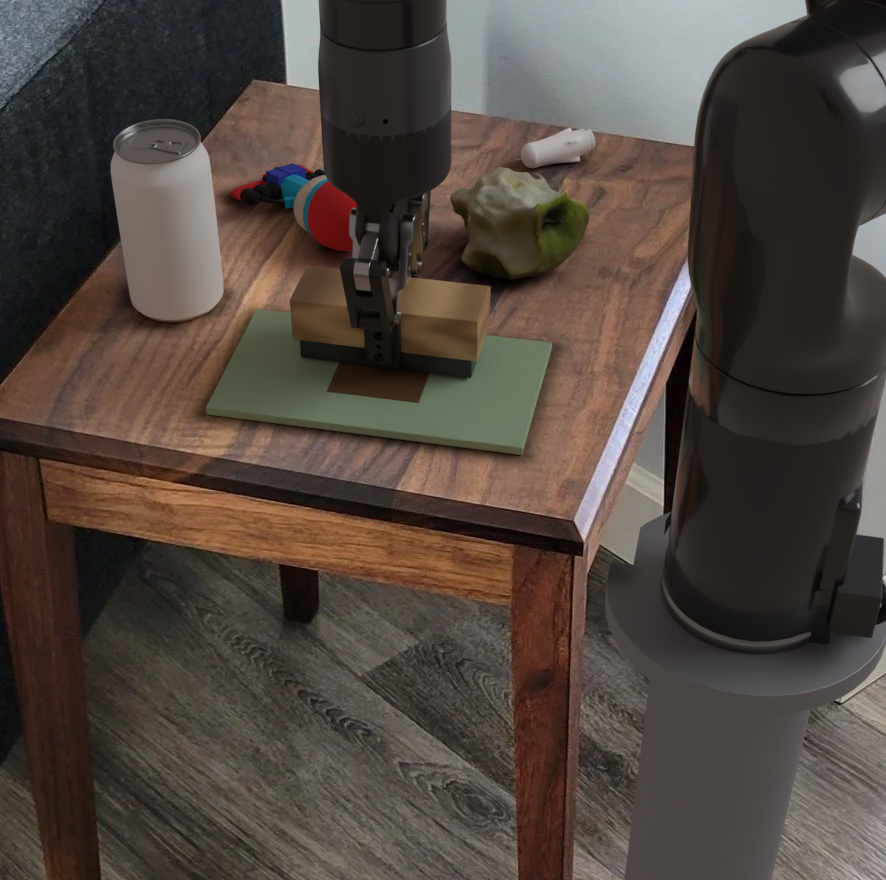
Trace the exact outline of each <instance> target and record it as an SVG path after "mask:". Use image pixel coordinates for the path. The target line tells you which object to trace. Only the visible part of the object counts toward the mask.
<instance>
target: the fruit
mask: <svg viewBox="0 0 886 880" xmlns="http://www.w3.org/2000/svg"><path fill="white" fill-rule="evenodd" d="M534 177H535V178H534ZM449 199H450V203H451V205H452V209H453V212H454V213H455V214H456V215H459V216H460V217H461V218H462V220H463V225H464V229H465V234H466V235H467V237H468V242H467V244H466V245H465V248H464V250H463V253H462V255H461V258H460V259H461V261H462V263H463V264H464V265H465V266H467V267H468V268H470V269H472V270H473V271H476V272H478V273H481V274H483V275H486V276H490V277H494V278H497V279H501V280H508V281H512V280H520V279H523V278H530V277H531V278H532V277H536V276H541V275H544V274H546V273H548V272H550V271H552V270H555V269H556V268H558V267H560V266H561V265H562V264H563V263H564V262H566V261H567V260H568V259H569V258H570V257H571V256H572V255H573V254H574V252H575V251H576V250H577V249H578V247H579V246H580V244H581V242H582V241H583V239H584V237H585V234H586V231H587V227H588V225H589V221H590V212H589V208H588V206H586V205H585V204H584V203H583V202H582V201H579V200H578V199H576V197H568V192H567V191H564V190H562V191H561V192H559V191H557V190H554V189H552V188H551V186H550V185H549V183H548V182H547V180H546V178H544V176H542V174H540V173H538V172H533V173H532V175H531V174H530V173H529V172H527V171H524V172H522V171H515V170H512V169H511V168H509V167H502V166H498V167H496V168H495V169H493V170H492V171H491V173H490V174H488V175H487V176H482V177H481V178H479V180H478V181H476V182H475V184H474V185H473V186H472V187H460V188H458V189H456V191H453V192H452V193H451V194H450V198H449Z"/></svg>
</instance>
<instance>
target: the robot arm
mask: <svg viewBox="0 0 886 880" xmlns="http://www.w3.org/2000/svg"><path fill="white" fill-rule="evenodd" d="M447 2H448V0H318V15H319V47H318V59H317V72H318V73H317V77H318V92H319V93H318V94H319V108H320V109H319V110H320V127H321V145H322V162H323V171H324V172H325V175H326V177H327V179H328V180H329V182H330V183H331V184H332V185H333V186H334V187H335V188H336V189H338V190H339V191H341V192H343V193H345V194H346V195H348V196H349V197H350V198H351V199H353V200H354V201H355V202H356V204H357V208H352V209H351V212H350V218H349V236H350V238H351V239H352V241H353V250H352V251H351V252H352V255H351V257H348V256H345V257H343V258H342V261H341V263H340V265H339V270H340V272H341V278H342V283H343V288H344V293H345V298H346V303H347V308H348V313H349V318H350V323H351V327H352V328H358V329H364V344H365V363H366V365H367V366H368V367H370V368H372V369H380V370H388V371H396V370H397V369H398V368H399V366H400V363H401V361H402V352H401V318H402V311H401V308H402V290H403V289H404V288H405V287H406V285H407V284H408V283H409V281H410V279H411V278H419V277H418V276H420V274H421V271H422V270H423V267H424V261H423V260H422V252H423V253H424V252H426V251H427V249H428V247H429V243H430V238H429V228H430V227H429V225H430V212H431V210H430V209H431V193H432V191H433V190H435V189H436V188H437V187H438V186H440V185H441V184H442V183H443V182H444V181H445V180H446V178H447V177H448V175H449V173H450V171H451V167H452V54H451V46H450V41H449V32H448V19H447V18H448V13H447V8H448V7H447V6H448V5H447V4H448V3H447ZM804 4H805V11H806V15H804V16H800V17H798V18H796V19H794V20H791V21H789V22H786V23H783V24H781V25H779V26H777V27H774V28H772V29H769V30H766V31H764V32H761V33H759V34H756V35H754V36H752V37H750V38H748V39H745V40H744V41H741V42H740V43H738V44H736V45H735V46H734V47H732V48H730V49H729V50H728V52H726V53H725V54H724V55H723V56H722V57H721V58H720V60H719V61H718V62H717V64H716V65H715V67H714V68H713V70H712V72H711V73H710V76H709V78H708V80H707V82H706V84H705V88H704V90H703V93H702V97H701V99H700V104H699V108H698V112H697V119H696V123H695V124H696V125H695V132H694V142H693V152H692V153H693V155H692V167H691V168H692V169H691V187H690V188H691V189H690V205H689V206H690V207H689V224H688V238H687V268H688V277H689V282H690V287H691V291H692V294H693V298H694V301H695V307H696V321H695V328H694V329H695V331H694V338H693V345H692V353H691V361H690V370H689V377H688V383H687V392H686V400H685V407H684V408H685V409H684V413H683V414H684V415H683V423H682V430H681V439H680V445H679V446H680V447H679V454H678V462H677V470H676V475H675V476H676V477H675V485H674V492H673V499H672V507H671V508H672V509H671V511H670V512H671V513H670V515H669V516H668V518H667V520H666V522H665V530H664V534H665V533H666V531H667V530H668V528H669V526H670V531H669V539H668V547H667V550H666V556H665V563H664V566H663V571H662V579H661V593H662V598H663V601H664V603H665V606H666V608H667V609H668V611H669V613H670V614H671V615H672V617H673V618H674V619H675V620H676V621H677V622H678V623H679V624H680V625H681V626H682V627H683V628H684V629H685V630H687V631H688V632H689V633H691V634H692V635H694V636H695V637H697V638H699V639H701V640H703V641H705V642H707V643H709V644H712V645H714V646H717V647H720V648H723V649H727V650H730V651H735V652H741V653H750V654H769V653H778V652H784V651H788V650H792V649H795V648H798V647H800V646H803V645H805V644H807V643H819V644H830V643H831V640H832V636H833V633H839V634H846V635H853V636H860V637H866V638H872V636H873V632H874V629H875V625H878V624H881V623H883V622H885V621H886V586H885V585H884V584H883V580H884V554H885V553H884V552H885V539H884V537H879V536H872V535H863V534H857V533H858V529H859V525H860V520H861V516H862V511H863V510H862V509H863V490H864V489H863V488H864V477H865V471H866V466H867V463H868V459H869V455H870V450H871V446H872V442H873V441H872V440H873V436H874V432H875V428H876V424H877V420H878V415H879V411H880V405H881V403H882V398H883V393H884V389H885V385H886V276H885V275H884V274H883V273H882V272H881V271H880V270H879V269H878V268H876V266H874V265H872V264H871V263H869V262H867V261H866V260H863V259H862V258H860V257H858V256H856V255H854V254H853V253H854V246H855V242H856V237H857V233H858V231H859V230H858V229H859V227H860V226H862V225H865V224H867V223H869V222H871V221H873V220H875V219H877V218H880V217H882V216H884V215H886V0H804ZM881 603H882V606H881V608H880V605H881Z"/></svg>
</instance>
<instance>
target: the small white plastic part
mask: <svg viewBox="0 0 886 880" xmlns="http://www.w3.org/2000/svg"><path fill="white" fill-rule="evenodd" d="M595 148H596V138H595V135H594V133H593V131H592V129H590V128H587V129H586V130H585V129H584V128H579V129H575V130H572V128H571V127H568V128H565V129H563V130H561V131H559V132H557V133H555V134H552V135H550V136H548V137H545V138H542V139H539V140H535V141H532V142H527V143H526V144H524V145H523V147H522V148H521V150H520V151H521V152H520V158H517V159H514V160H512V161H513V162H514V161H519V160H521V161H522V164H524V166H525V167H526V168H529V169H536V168H540V167H544V166H548V165H553V164H555V165H556V164H564V163H565V164H566V163H567V164H569V163H579V162H581V157H582V156H583V155H588V154H589V153H590V151H593V150H595Z"/></svg>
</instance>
